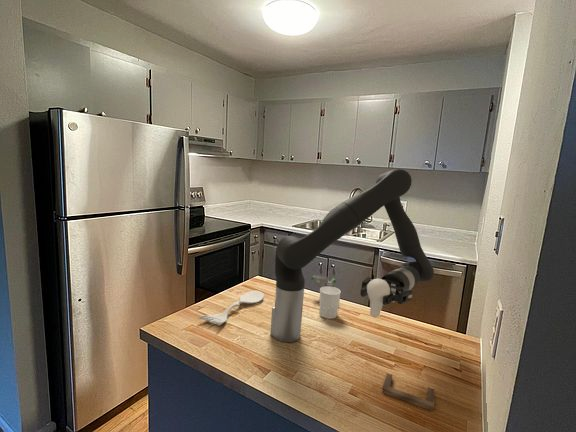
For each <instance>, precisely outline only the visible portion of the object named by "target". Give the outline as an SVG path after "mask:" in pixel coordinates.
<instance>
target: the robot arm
mask: <svg viewBox="0 0 576 432" xmlns="http://www.w3.org/2000/svg"><path fill="white" fill-rule="evenodd" d="M412 180H413V179H412V175H411V174H410V173H409V172H408V171H406V170H405V169H399V168H394V169H391V170H388V171H386V172H383V173H381V174H380V175H379V176H378V177H377V179H376V181H375V184H374V185H373V186H371V187H370V188H368V189H366V190H364V191H362V192H359V193H358V194H355V195H353V196H351V197H350V198H347V199H345V200H344V201H343V202H340V204H337V206H335V207H334V208H333V209H330V211H329V212H327V214H326V215H325V217H324V218H323V219H322V221H321V222H320V224H319V225H318V226H317V227H316V228H315V229H314V230H312V231H311V232H310V233H308V234H306V235H305V236H303V237H301V238H299V237H296V236H294V235H286V236H284V237H282V238H281V239H280V240H279V241H278V243H277V245H276V249H275V257H274V258H275V261H274V275H275V281H276V283H275V297H274V298H275V299H274V306H273V307H272V308H271V320H270V336H273V337H274V339H275V340H278V341H279V342H283V343H293V342H297V341H298V340H299V339H300V338H301V332H302V319H303V307H304V306H303V305H304V293H305V285H306V284H305V282H306V281H305V277H304V275H303V270H302V269H303V268H305V267H306V266H307V265H309V264H310V263H312V261H314V259H315V258H317V257H318V256H319V255H320V254H321V253H323V252H324V251H325V250H326V249H327V248H329V246H332V244H334V243H336V242H337V241H338V240H339V239H341V238H342V237H344V236H345V235H347V234H348V233H350V232H351V231H353V230H354V229H355V228H357V227H359V226H360V225H361V224H362V223H364V222H365V221H366V220H368V219H369V218H370V217H371V216H372V215H374V214H376V212H378V211H380V209H382V208H383V207H384V209H385V212H386V213H387V216H388V218H389V220H390V223H391V226H392V228H393V231H394V235H395V238H396V242H397V244H398V249H399V252H400V254H401V255H402V256H403V257H406V258H407V257H409V258H413V259H414V260H415V261H408V262H407V261H406V262H404V263H402V264H401V265H400V267H399V268H396V269H393V270H391V271H389V272H387V273H385V274H384V275H383V276H381V278H380V279H382V280H384V281H386V282H387V283H388V285H389V287H390V294H389V295H386V296H384V297H383V306H384V305H385V306H387V305H390V304H391V303H395V302H397V304H398V305H402V304H405V303H407V302H409V301H412V297H413V292H414V291H413V290H412V289H413V288H414V287H415V286H417V285H418V283H421V282H429V281H432V279H433V278H434V274H435V271H434V267H433V265H432V263H431V261H430V260H429V258H428V257H427V255H426V254H425V252H424V250H423V247H422V245H421V242H420V239H419V235H418V231H417V228H416V227H415V225H414V224H413V222H412V220H411V219H410V217H409V216H408V214H407V213H406V211H405V209H404V207H403V204H402V202H401V196H403V195H405V194H406V193H408V192H409V190H410V189H411V187H412ZM371 280H372V277H370V276H368V277H366V278H365V279H364V280H362V282H361V287H360V293H359V294H360V296H361V297H363V298H364V297H367V296H368V293H367V285H368V283H369V282H370V281H371Z"/></svg>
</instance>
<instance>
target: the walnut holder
mask: <svg viewBox="0 0 576 432" xmlns="http://www.w3.org/2000/svg"><path fill="white" fill-rule="evenodd" d="M392 380H393V374H392V373H391V374H390V373H388V372H387V373H386V375H385V378H384V382H383V385H382V388H381V389H382V391H381V392H382V393H383V394H385V395H388V396H391V397H394V398H396V399H398V400H402V401H404V402H407V403H410V404H412V405H415V406H417V407H420V408H423V409H426V410H428V411H432V412H434V409H435V388H433V387H429V386H428V387H427V393H426V394H427V395H426V396H427V397H426V399H424V398H422V397H419V396H416V395H414V394H410V393H408V392H405V391H402V390H399V389H397V388H395V387H394V388H393V387H391V384H392ZM382 393H381V394H382Z"/></svg>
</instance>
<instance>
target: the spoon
mask: <svg viewBox="0 0 576 432" xmlns="http://www.w3.org/2000/svg"><path fill="white" fill-rule="evenodd" d="M264 295H265V293H264V292H262V291H260V290H250V291H248V292H244V293H243V294H242V295H241V296H240V297H239V298H238V299H239V300H238V301H233V302H232V303H231V305H229V306H228V307H227V308H226V309H225V310H223V312H221V313H218V314H216V313H214V314H207V315H206V314H205V315H200V316H199V317H198V319H202V320H205V322H209V323H210V324H211V323H212V324H213V325H218V326H221V325H223V324H224V323H225V322H227V321H228V316H229V312H230V311H231V310H232V309H233V308H235V307H239V306H240V305H241V304H256V303H259V302H261V301H262V300H263V299H264V298H265V296H264Z"/></svg>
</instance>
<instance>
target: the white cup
mask: <svg viewBox="0 0 576 432" xmlns="http://www.w3.org/2000/svg"><path fill="white" fill-rule="evenodd" d="M341 293H342V291H341V290H340V289H339V288H338V287H334V286H333V287H329V286H326V287H322V288H320V287H319V302H318V303H319V308H318V309H319V313H318V314H319V316H321V317H322V318H324V319H329V320H331V319H335V318H337V316H338V310H339V305H340V300H341Z"/></svg>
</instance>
